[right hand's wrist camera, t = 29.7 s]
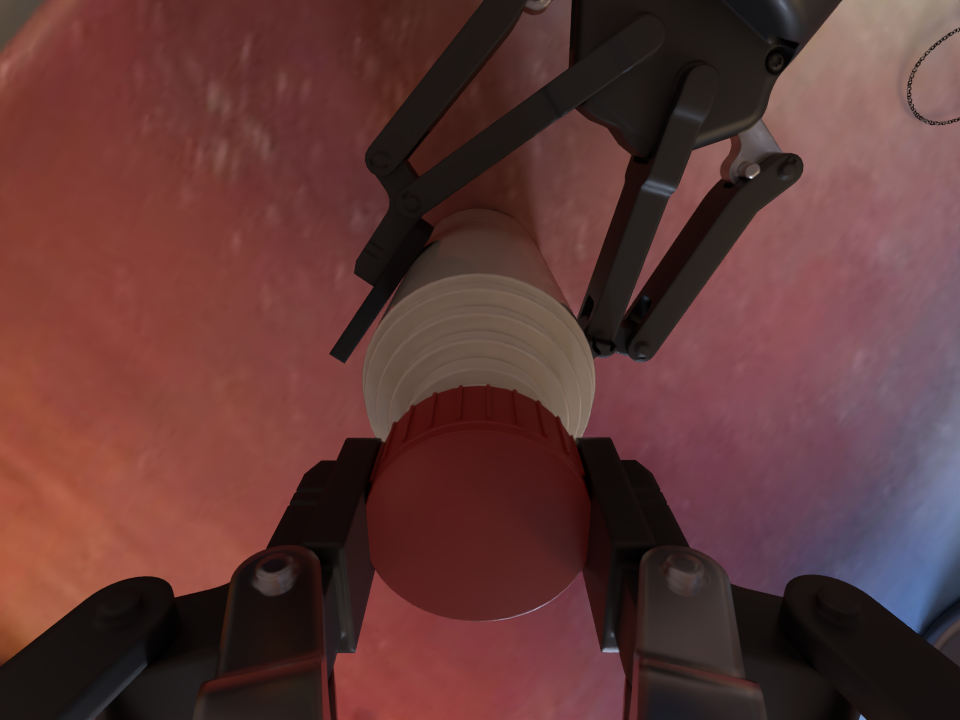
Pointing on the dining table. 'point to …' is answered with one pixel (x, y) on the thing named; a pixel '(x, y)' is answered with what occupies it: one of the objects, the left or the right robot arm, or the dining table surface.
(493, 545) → the cap
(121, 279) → the dining table surface
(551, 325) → the bottle
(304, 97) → the dining table surface
